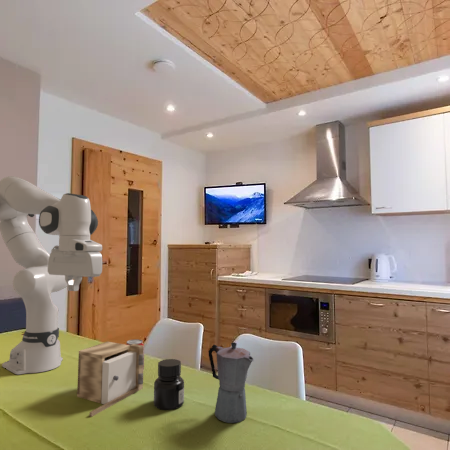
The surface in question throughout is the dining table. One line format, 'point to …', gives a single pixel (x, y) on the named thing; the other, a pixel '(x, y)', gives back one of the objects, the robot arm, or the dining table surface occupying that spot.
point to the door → (118, 376)
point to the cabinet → (92, 371)
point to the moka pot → (231, 382)
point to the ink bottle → (169, 385)
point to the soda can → (136, 343)
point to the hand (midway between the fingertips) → (73, 290)
